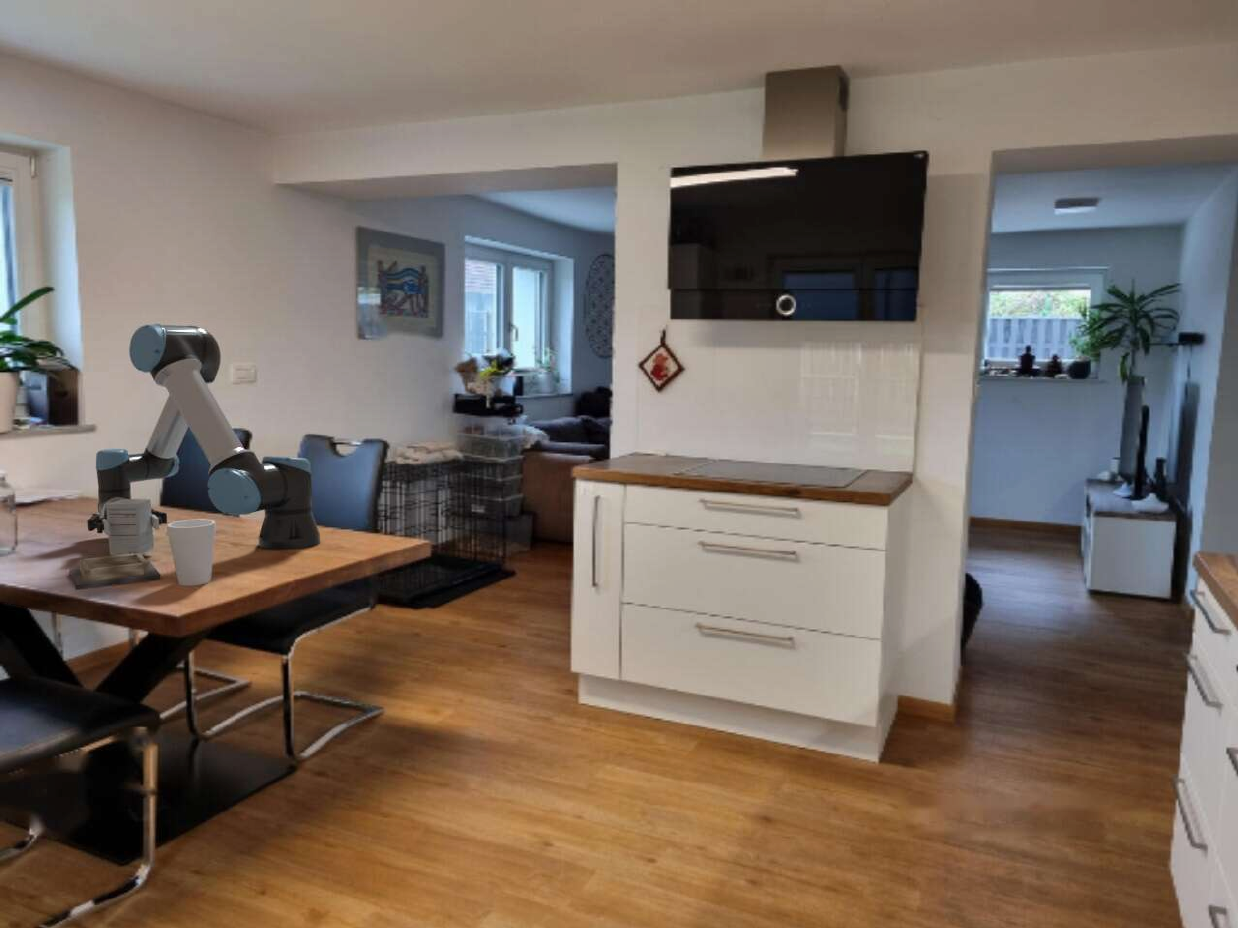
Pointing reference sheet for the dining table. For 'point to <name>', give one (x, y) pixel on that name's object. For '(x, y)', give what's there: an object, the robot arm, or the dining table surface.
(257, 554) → the dining table surface
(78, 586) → the keeper cradle
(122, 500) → the supplement box
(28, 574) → the dining table surface
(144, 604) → the dining table surface
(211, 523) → the foam cup
